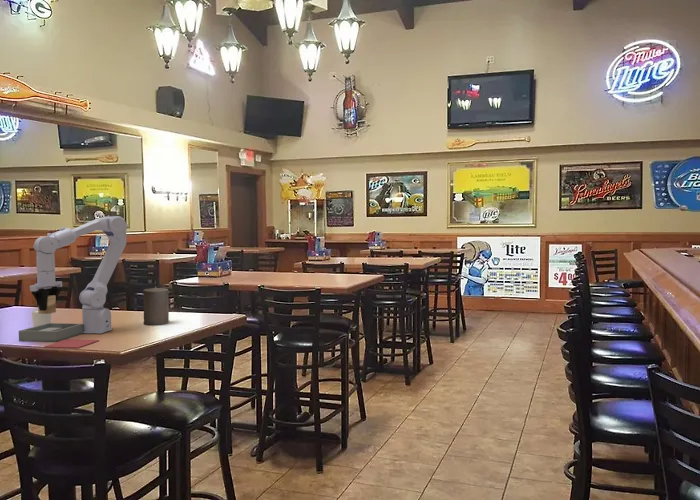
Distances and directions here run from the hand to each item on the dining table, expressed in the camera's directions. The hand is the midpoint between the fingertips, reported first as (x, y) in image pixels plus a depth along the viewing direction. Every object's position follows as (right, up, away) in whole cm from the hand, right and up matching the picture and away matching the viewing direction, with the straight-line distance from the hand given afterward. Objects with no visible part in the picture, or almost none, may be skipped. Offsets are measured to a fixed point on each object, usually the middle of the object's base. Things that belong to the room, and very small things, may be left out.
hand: (47, 309), depth 211 cm
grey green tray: (+1, -10, +2) cm, 10 cm away
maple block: (0, -1, 0) cm, 1 cm away
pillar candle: (+29, -9, +29) cm, 42 cm away
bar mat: (+14, -11, -11) cm, 20 cm away
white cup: (-11, -10, +18) cm, 23 cm away
